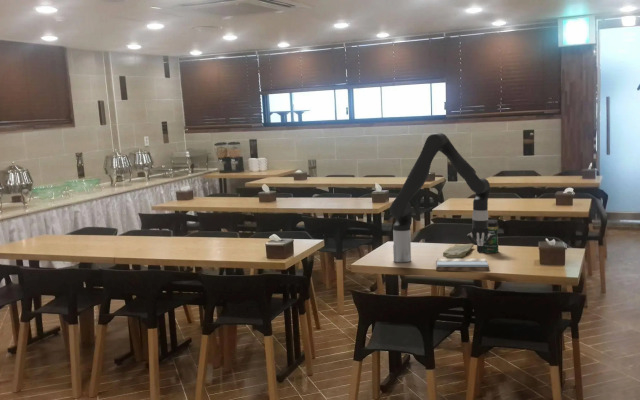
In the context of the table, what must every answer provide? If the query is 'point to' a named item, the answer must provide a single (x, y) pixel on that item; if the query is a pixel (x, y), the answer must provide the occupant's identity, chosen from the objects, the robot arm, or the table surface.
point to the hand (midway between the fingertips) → (480, 252)
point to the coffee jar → (493, 243)
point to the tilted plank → (461, 264)
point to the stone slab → (458, 251)
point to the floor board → (463, 267)
